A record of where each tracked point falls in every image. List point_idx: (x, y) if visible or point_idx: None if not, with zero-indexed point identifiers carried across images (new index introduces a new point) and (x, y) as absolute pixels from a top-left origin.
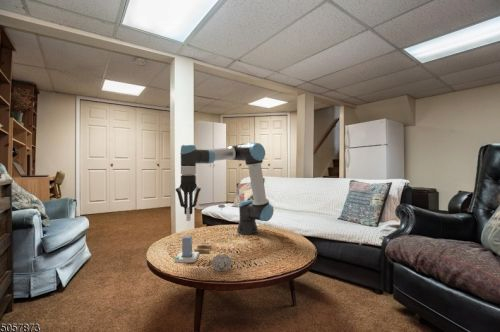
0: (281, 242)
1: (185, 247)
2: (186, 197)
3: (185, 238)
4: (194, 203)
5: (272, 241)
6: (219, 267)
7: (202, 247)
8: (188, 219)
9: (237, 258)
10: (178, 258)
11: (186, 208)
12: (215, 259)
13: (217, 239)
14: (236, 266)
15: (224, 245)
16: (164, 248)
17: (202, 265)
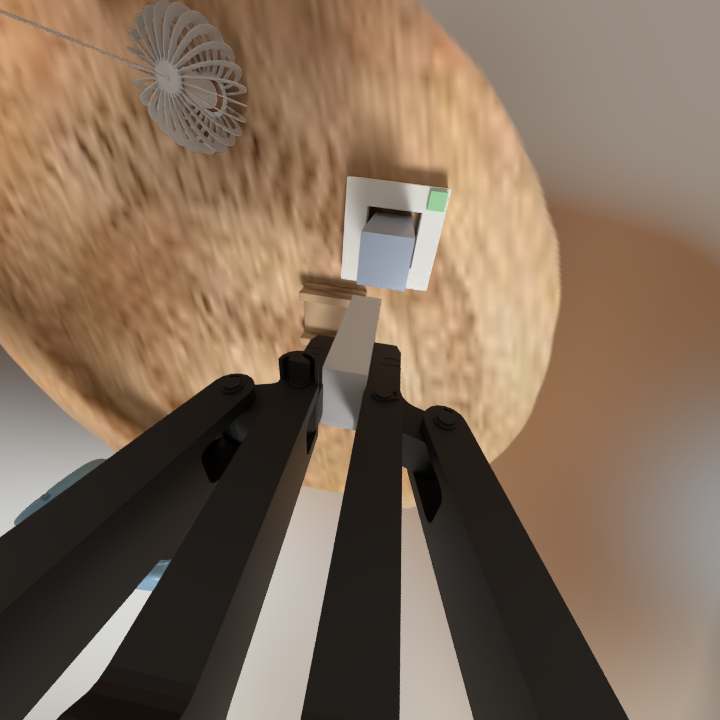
0: (87, 365)
1: (395, 225)
2: (324, 596)
3: (393, 235)
4: (198, 412)
5: (120, 378)
6: (223, 107)
7: None
8: (359, 302)
9: (183, 229)
10: (430, 193)
11: (365, 372)
12: (200, 48)
13: None
14: (155, 124)
15: (269, 371)
16: (493, 380)
17: (312, 156)
